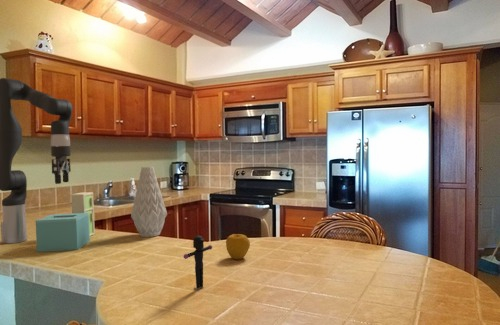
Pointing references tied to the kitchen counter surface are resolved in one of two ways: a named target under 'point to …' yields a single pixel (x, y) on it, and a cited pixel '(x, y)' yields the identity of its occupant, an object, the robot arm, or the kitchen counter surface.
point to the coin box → (62, 232)
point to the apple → (237, 245)
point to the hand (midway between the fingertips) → (62, 182)
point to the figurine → (198, 259)
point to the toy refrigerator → (84, 207)
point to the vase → (148, 205)
